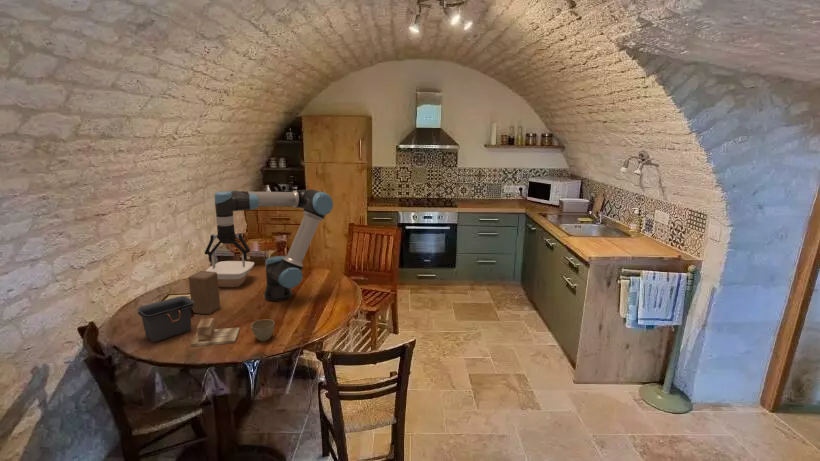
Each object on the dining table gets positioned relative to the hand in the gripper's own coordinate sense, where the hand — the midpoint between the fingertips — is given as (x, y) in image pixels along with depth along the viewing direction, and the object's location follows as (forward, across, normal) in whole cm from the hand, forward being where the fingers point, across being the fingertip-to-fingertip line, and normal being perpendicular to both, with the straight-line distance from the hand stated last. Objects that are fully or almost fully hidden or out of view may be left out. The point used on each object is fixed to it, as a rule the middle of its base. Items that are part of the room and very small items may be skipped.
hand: (229, 267), depth 209 cm
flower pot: (+27, -17, +25) cm, 40 cm away
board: (+27, +4, +20) cm, 34 cm away
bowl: (+27, +9, -51) cm, 58 cm away
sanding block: (+26, +8, +20) cm, 34 cm away
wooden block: (+27, +15, -12) cm, 33 cm away
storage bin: (+27, +25, +13) cm, 39 cm away
